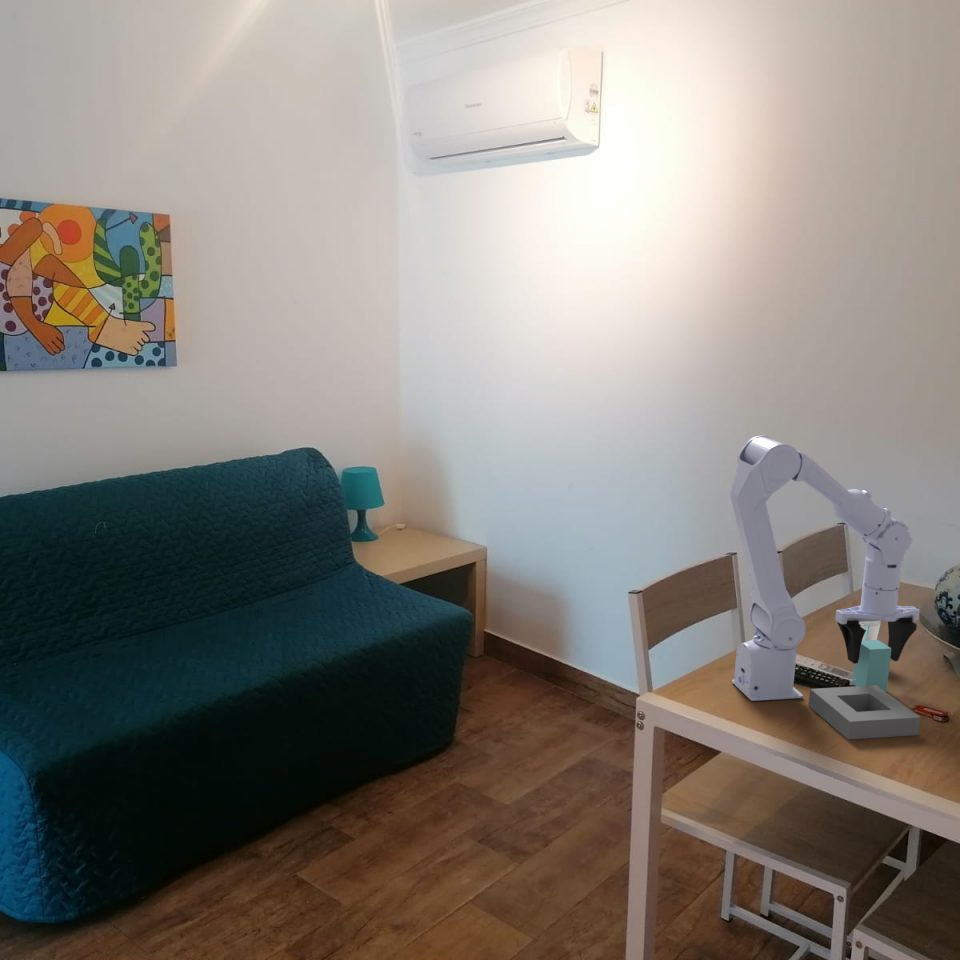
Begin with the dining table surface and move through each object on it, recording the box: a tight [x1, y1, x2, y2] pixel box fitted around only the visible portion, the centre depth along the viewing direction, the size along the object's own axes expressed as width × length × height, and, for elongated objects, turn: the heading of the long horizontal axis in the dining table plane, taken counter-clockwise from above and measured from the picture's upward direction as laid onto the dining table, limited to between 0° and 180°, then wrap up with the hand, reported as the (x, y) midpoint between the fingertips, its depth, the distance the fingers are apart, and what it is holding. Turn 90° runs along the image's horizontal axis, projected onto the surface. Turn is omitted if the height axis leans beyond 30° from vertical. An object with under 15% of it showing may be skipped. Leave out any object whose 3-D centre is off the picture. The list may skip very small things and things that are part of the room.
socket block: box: [808, 685, 921, 740], centre depth 150 cm, size 12×12×3 cm
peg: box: [852, 639, 891, 693], centre depth 162 cm, size 4×4×8 cm
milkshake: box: [859, 621, 882, 641], centre depth 173 cm, size 4×5×10 cm
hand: (872, 660), depth 162 cm, fingers open, 7 cm apart
